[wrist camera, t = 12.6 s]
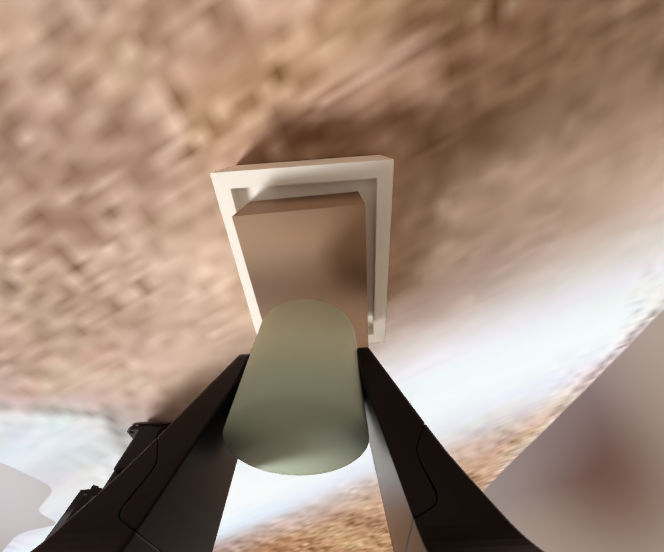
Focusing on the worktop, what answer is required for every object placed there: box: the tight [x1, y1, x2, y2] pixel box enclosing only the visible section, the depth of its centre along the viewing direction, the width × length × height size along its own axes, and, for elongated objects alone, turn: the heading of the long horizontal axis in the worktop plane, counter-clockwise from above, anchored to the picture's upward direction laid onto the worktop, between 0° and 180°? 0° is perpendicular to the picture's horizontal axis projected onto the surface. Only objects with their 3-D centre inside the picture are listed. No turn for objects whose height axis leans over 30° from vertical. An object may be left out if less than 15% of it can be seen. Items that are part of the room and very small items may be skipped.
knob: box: [223, 299, 369, 475], centre depth 9 cm, size 4×4×4 cm
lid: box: [232, 191, 368, 349], centre depth 14 cm, size 9×6×3 cm, turn 5°
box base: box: [210, 155, 394, 343], centre depth 17 cm, size 12×9×4 cm
